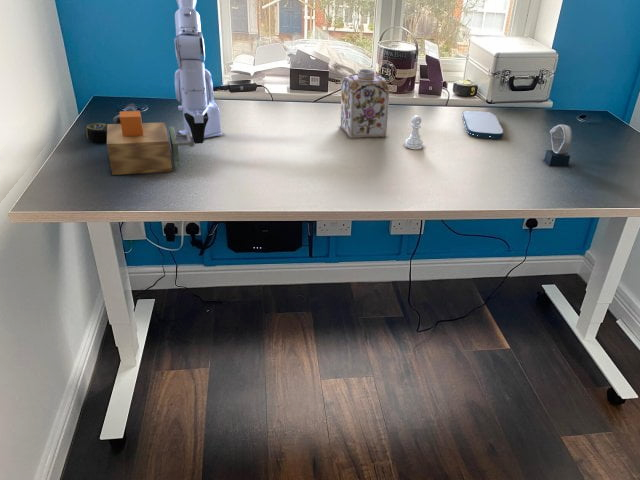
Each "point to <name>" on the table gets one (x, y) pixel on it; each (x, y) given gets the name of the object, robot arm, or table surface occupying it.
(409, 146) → the chess pawn
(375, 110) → the decorative jar
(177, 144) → the drawer
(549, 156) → the watch
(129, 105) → the eagle figurine
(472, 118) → the external hard drive
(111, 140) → the cabinet
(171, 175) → the table surface
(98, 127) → the tape measure
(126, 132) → the plain orange block
